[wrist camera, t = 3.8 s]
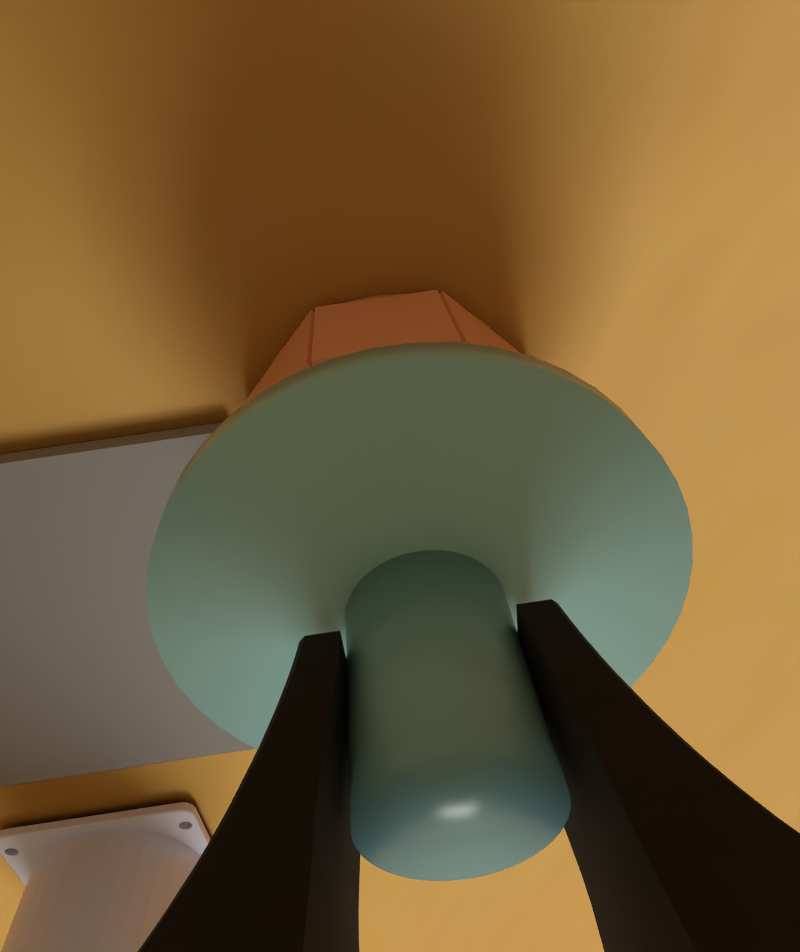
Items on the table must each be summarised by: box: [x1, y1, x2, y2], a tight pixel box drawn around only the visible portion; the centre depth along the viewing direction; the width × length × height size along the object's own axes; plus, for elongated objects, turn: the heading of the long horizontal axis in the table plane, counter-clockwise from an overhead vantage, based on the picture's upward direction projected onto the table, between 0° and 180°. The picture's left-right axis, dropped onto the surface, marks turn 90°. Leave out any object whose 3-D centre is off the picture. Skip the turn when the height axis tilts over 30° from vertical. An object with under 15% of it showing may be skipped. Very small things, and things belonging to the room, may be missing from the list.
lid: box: [146, 342, 692, 881], centre depth 11 cm, size 10×10×5 cm
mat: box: [0, 422, 255, 787], centre depth 22 cm, size 13×12×1 cm
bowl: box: [244, 290, 522, 405], centre depth 17 cm, size 8×8×4 cm
